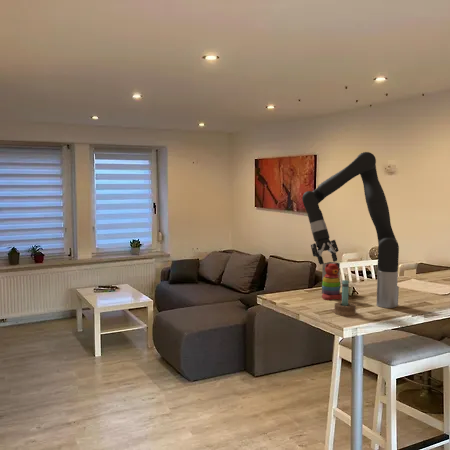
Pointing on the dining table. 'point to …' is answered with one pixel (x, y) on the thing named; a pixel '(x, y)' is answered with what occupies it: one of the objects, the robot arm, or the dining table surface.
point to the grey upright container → (324, 269)
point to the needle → (345, 292)
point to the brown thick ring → (345, 309)
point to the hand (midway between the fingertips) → (328, 262)
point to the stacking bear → (331, 283)
